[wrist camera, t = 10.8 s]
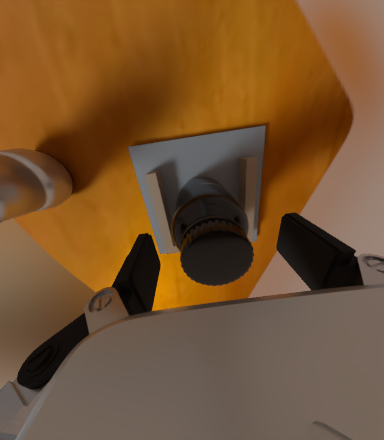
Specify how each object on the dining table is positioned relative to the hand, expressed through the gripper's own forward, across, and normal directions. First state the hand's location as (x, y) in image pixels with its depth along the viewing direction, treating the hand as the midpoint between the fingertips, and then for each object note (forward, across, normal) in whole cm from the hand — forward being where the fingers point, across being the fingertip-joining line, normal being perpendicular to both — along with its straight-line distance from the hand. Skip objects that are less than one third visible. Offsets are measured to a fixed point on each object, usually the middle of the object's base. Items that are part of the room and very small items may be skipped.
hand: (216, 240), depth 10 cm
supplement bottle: (+11, 0, +1) cm, 11 cm away
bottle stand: (+11, 0, +1) cm, 11 cm away
